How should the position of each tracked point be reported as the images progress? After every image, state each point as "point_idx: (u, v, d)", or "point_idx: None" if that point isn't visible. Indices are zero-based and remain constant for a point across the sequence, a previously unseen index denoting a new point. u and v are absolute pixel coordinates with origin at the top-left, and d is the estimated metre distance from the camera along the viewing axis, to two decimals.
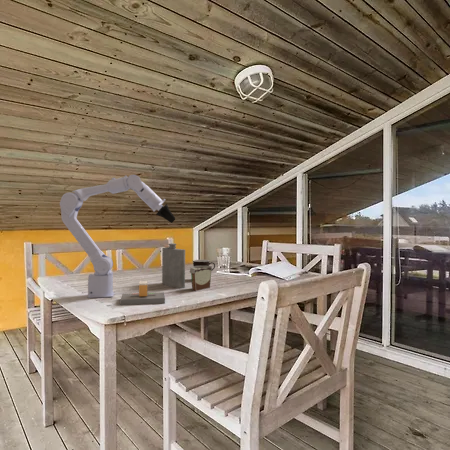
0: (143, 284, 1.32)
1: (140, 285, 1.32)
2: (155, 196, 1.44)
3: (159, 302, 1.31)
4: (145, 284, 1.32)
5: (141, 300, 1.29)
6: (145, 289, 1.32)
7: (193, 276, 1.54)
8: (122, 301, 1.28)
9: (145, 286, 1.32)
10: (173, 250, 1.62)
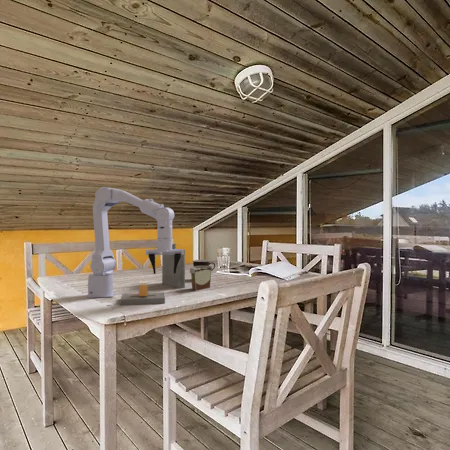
0: (143, 284, 1.32)
1: (140, 285, 1.32)
2: (160, 242, 1.33)
3: (159, 302, 1.31)
4: (145, 284, 1.32)
5: (141, 300, 1.29)
6: (145, 289, 1.32)
7: (193, 276, 1.54)
8: (122, 301, 1.28)
9: (145, 286, 1.32)
10: None
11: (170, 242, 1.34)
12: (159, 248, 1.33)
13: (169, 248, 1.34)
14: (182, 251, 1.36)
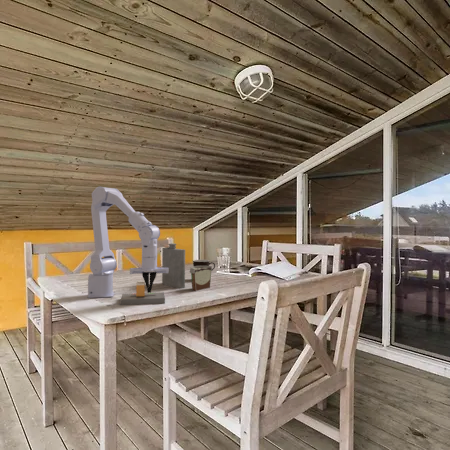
0: (140, 284, 1.32)
1: (137, 285, 1.31)
2: (144, 260, 1.32)
3: (159, 302, 1.31)
4: (142, 284, 1.32)
5: (141, 300, 1.29)
6: (142, 289, 1.32)
7: (193, 276, 1.54)
8: (122, 301, 1.28)
9: (142, 286, 1.32)
10: (173, 250, 1.62)
11: (155, 261, 1.33)
12: (143, 267, 1.32)
13: (153, 267, 1.33)
14: (167, 270, 1.35)
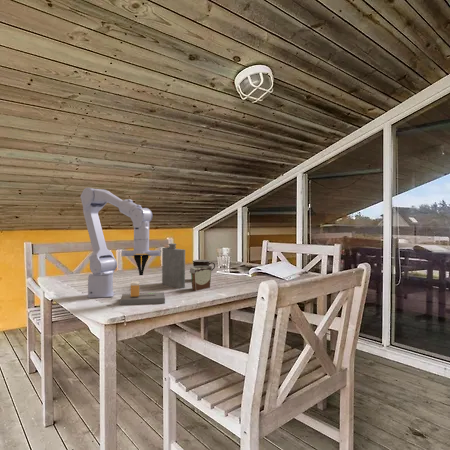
0: (135, 284, 1.31)
1: (132, 285, 1.31)
2: (136, 243, 1.31)
3: (159, 302, 1.31)
4: (137, 284, 1.31)
5: (141, 300, 1.29)
6: (137, 289, 1.31)
7: (193, 276, 1.54)
8: (122, 301, 1.28)
9: (137, 286, 1.31)
10: (173, 250, 1.62)
11: (146, 243, 1.32)
12: (135, 249, 1.31)
13: (145, 249, 1.32)
14: (159, 252, 1.34)
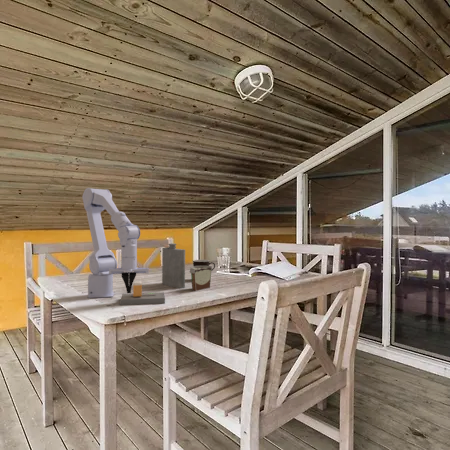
0: (137, 284, 1.31)
1: (134, 285, 1.31)
2: (123, 261, 1.30)
3: (159, 302, 1.31)
4: (139, 284, 1.32)
5: (141, 300, 1.29)
6: (139, 289, 1.32)
7: (193, 276, 1.54)
8: (122, 301, 1.28)
9: (139, 286, 1.32)
10: (173, 250, 1.62)
11: (134, 261, 1.31)
12: (122, 267, 1.31)
13: (133, 267, 1.31)
14: (147, 270, 1.33)
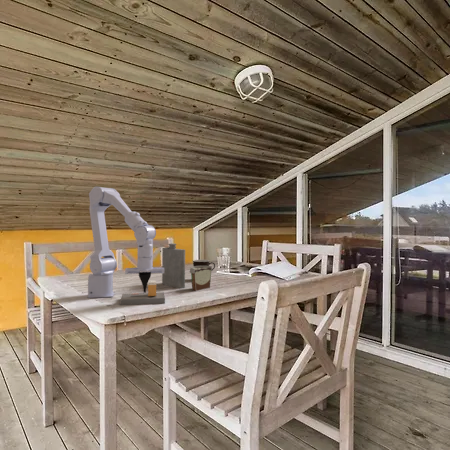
0: (152, 284, 1.33)
1: (149, 285, 1.32)
2: (139, 260, 1.32)
3: (159, 302, 1.31)
4: (154, 284, 1.33)
5: (141, 300, 1.29)
6: (154, 289, 1.33)
7: (193, 276, 1.54)
8: (122, 301, 1.28)
9: (154, 286, 1.33)
10: (173, 250, 1.62)
11: (150, 261, 1.33)
12: (139, 267, 1.32)
13: (149, 267, 1.32)
14: (163, 270, 1.35)
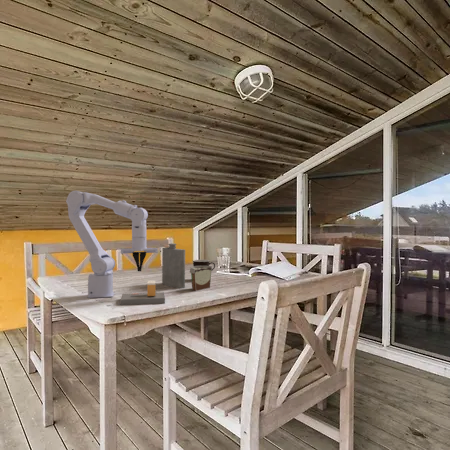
0: (151, 284, 1.33)
1: (148, 285, 1.32)
2: (134, 240, 1.39)
3: (159, 302, 1.31)
4: (153, 284, 1.33)
5: (141, 300, 1.29)
6: (153, 289, 1.33)
7: (193, 276, 1.54)
8: (122, 301, 1.28)
9: (153, 286, 1.33)
10: (173, 250, 1.62)
11: (144, 241, 1.40)
12: (133, 247, 1.39)
13: (143, 247, 1.39)
14: (156, 249, 1.42)
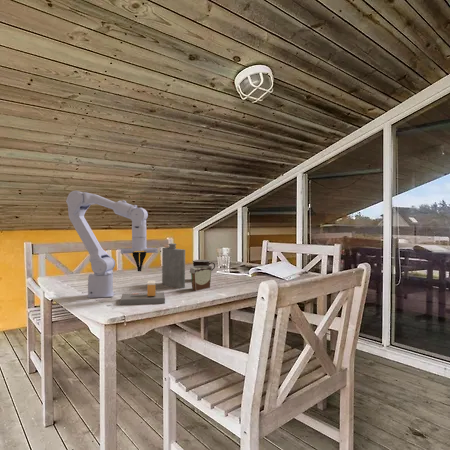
0: (151, 284, 1.33)
1: (148, 285, 1.32)
2: (134, 240, 1.39)
3: (159, 302, 1.31)
4: (153, 284, 1.33)
5: (141, 300, 1.29)
6: (153, 289, 1.33)
7: (193, 276, 1.54)
8: (122, 301, 1.28)
9: (153, 286, 1.33)
10: (173, 250, 1.62)
11: (144, 241, 1.40)
12: (133, 247, 1.39)
13: (143, 247, 1.39)
14: (156, 249, 1.42)
